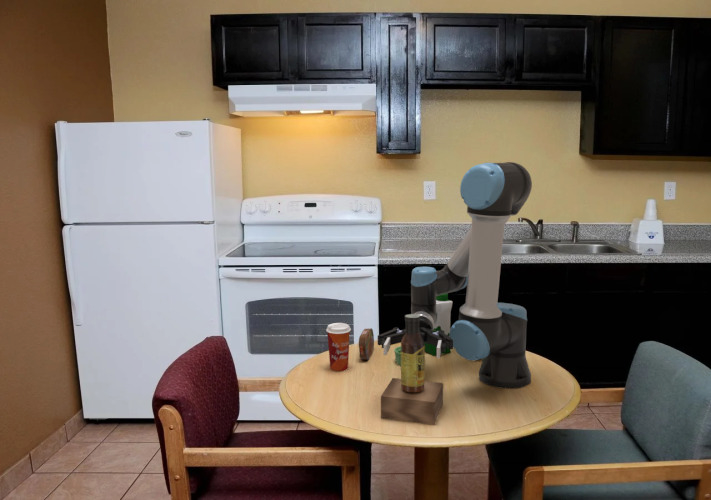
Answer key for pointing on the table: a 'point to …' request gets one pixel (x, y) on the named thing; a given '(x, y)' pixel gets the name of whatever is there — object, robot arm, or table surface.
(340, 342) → the paper cup
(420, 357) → the sauce bottle
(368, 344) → the tin
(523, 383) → the robot arm
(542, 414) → the table surface
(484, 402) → the table surface
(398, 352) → the ramekin
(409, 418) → the walnut block
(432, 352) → the milk carton
